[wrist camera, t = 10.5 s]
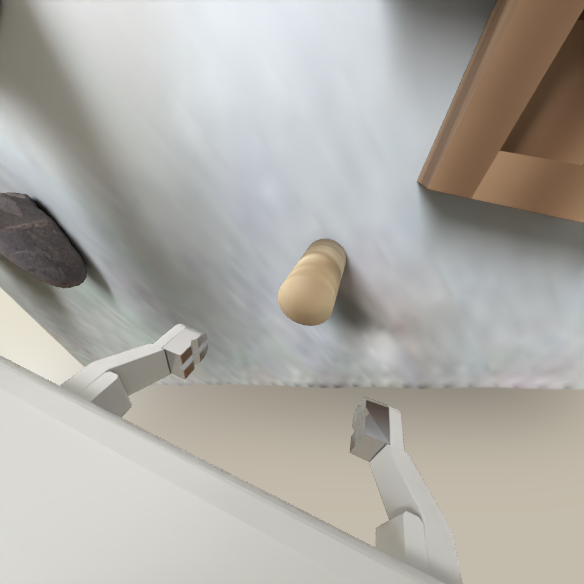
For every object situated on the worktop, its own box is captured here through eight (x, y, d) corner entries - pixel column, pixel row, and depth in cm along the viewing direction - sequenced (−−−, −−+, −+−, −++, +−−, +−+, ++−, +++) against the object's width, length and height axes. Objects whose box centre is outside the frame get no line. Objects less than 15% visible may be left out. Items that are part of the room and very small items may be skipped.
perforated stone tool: (105, 273, 35) (52, 296, 29) (90, 280, 37) (39, 303, 31) (23, 173, 29) (-62, 178, 23) (11, 190, 31) (-68, 198, 26)
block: (416, 181, 16) (428, 189, 13) (516, -44, 11) (587, -144, 7) (571, 214, 15) (635, 234, 11) (785, -32, 9) (1058, -154, 5)
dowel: (302, 270, 23) (274, 315, 17) (310, 234, 21) (281, 269, 15) (339, 281, 23) (325, 332, 16) (351, 245, 20) (340, 287, 14)
